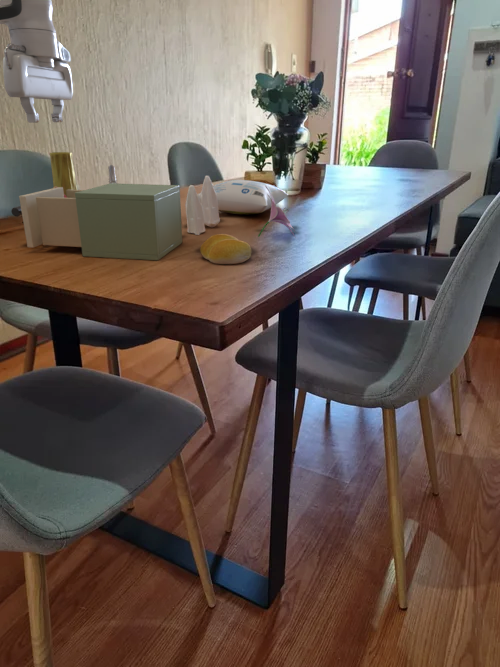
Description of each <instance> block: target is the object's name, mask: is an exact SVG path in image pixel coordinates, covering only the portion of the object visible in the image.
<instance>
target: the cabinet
mask: <svg viewBox="0 0 500 667" xmlns="http://www.w3.org/2000/svg"><path fill="white" fill-rule="evenodd" d="M116 183H117V182H116ZM116 183H110V184H109V183H106V184H103V185H99V186H96V187H91V188H88V189H82V190H83V191H80V192H76V193H75V198H76V206H77V214H78V222H79V230H80V238H81V246H82V247H81V254H82V257H86V258H87V257H89V258H105V259H124V260H125V259H126V260H143V261H159V260H161V259H162V258H163V257H165V256H166V255H168V254H169V253H170V252H172V251H173V250H174V249H176V248H177V247H179V246H180V245H181V244H182V243H183V229H182V228H183V226H182V207H181V205H182V204H181V186H180V184H151V183H149V184H147V183H117V184H116Z"/></svg>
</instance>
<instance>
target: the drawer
mask: <svg viewBox="0 0 500 667" xmlns="http://www.w3.org/2000/svg"><path fill="white" fill-rule="evenodd" d="M83 190H84V189H77V190H66V194H67V198H64V191H63V187H57V188H53V187H52V188H48V189H44V190H40V191H35V192H31V193H27V194H26V193H25V194H22V195H18V198H19V205H18V206H14V207H12V208H11V214H12V216H14V217H21V216H22V222H23V223H22V224H23V228H24V234H25V241H26V246H27V248H36V247H39V246H41V245H43V246H54V247H71V248H74V247H76V248H82V246H81V238H80V230H79V222H78V214H77V206H76V198H75V193H76V192H80V191H83Z"/></svg>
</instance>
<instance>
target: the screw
mask: <svg viewBox="0 0 500 667" xmlns="http://www.w3.org/2000/svg"><path fill="white" fill-rule="evenodd" d="M107 170H108V184H110V183H116V184H118V182H117V181H118V180H117V176H116V169H115V166H114V165H112V164H110V165H108V169H107Z"/></svg>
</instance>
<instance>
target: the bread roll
mask: <svg viewBox="0 0 500 667" xmlns="http://www.w3.org/2000/svg"><path fill="white" fill-rule="evenodd" d="M199 251H200V254H201V256H202V257H203V258H204V259H205V260H208V261H209V262H211V263H213V264H216V265H238V264H241V263H244V262H246V261H248V260H249V259H250V258H251V257H252V247H251V246H250V244H249V243H248V242H246V241H244V240H241V239H238V238H236V237H235V236H233V235H230V234H226V233H218V234H216V233H215V234H213V235H211V236H209V237H208V238H207V239H206V240H205V241H203V243H202V244H201V245H200V248H199Z"/></svg>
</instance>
